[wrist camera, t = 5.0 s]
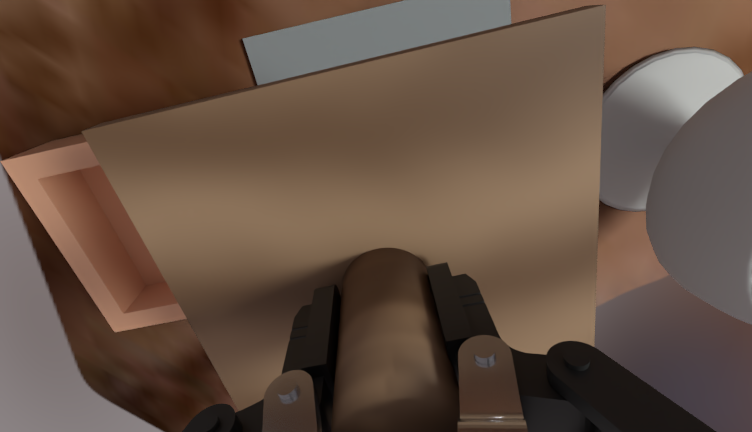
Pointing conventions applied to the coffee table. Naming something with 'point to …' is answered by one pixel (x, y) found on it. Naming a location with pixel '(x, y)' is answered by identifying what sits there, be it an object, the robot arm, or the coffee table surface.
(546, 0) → the coffee table surface
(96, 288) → the pink square tray
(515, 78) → the lid
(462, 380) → the robot arm
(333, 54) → the mat
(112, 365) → the coffee table surface
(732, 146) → the chalice
